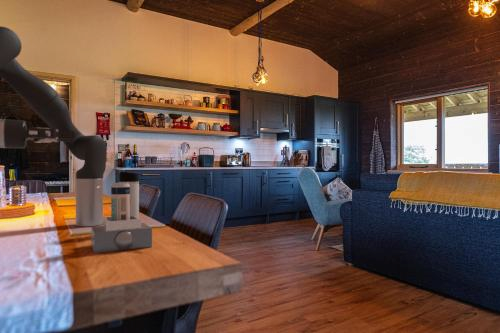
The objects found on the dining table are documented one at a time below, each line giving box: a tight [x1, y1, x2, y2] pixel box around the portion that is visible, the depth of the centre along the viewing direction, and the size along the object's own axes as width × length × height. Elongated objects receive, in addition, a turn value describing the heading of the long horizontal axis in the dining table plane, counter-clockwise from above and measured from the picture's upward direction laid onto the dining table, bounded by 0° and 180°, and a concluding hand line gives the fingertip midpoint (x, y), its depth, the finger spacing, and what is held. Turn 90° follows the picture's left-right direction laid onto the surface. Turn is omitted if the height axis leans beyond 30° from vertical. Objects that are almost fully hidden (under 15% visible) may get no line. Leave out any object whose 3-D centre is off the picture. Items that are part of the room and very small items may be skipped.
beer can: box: [110, 182, 130, 221], centre depth 90 cm, size 5×5×12 cm
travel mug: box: [118, 171, 140, 218], centre depth 110 cm, size 6×7×20 cm
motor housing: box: [90, 215, 153, 254], centre depth 90 cm, size 11×14×8 cm
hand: (74, 136), depth 95 cm, fingers open, 8 cm apart
